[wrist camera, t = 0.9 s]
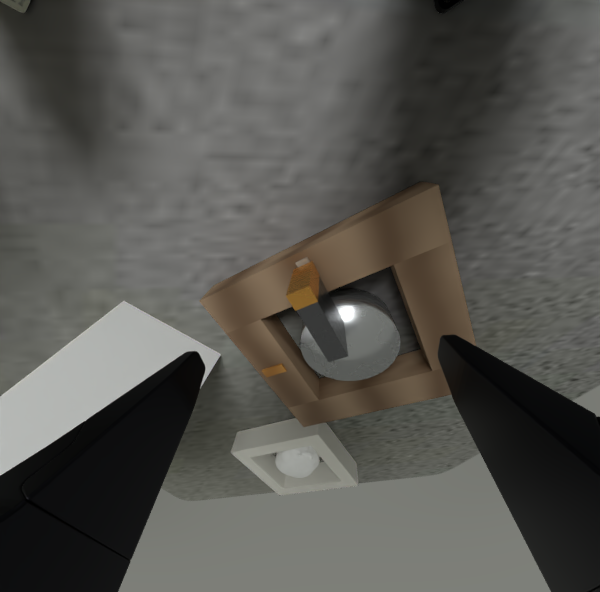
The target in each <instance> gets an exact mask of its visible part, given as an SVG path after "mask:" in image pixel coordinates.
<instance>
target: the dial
mask: <svg viewBox="0 0 600 592" xmlns="http://www.w3.org/2000/svg"><path fill="white" fill-rule="evenodd" d="M286 297H287V299H288V300H289V302H290V303H291V305H292V307H293V308H294V310H295V311H297V313H298V314H299V316H300V317H301V319H302V321H303V327H302V335H301V342H300V346H301V352H302V355H303V357H304V359H305V361H306V362H307V363H308V365H309V366H310V367H311V368H312V369H314V370H315V371H316V372H318V373H320V374H321V375H323V376H326V377H328V378H331V379H335V380H341V381H357V380H363V379H367V378H370V377H373V376H375V375H378V374H379V373H381V372H383V371H384V370H386V369H387V368H388V367H389V366H390V365H391V364H392V363H393V362H394V360H395V359H396V357H397V355H398V353H399V350H400V335H399V332H398V330H397V328H396V325H395V323H394V321H393V319H392V316H391V314H390V312H389V310H388V308H387V307H386V305H385V304H384V303H383V302H382V301H381V300H380V299H379V298H377V297H376V296H374V295H372V294H371V293H368V292H365V291H362V290H356V289H341V290H336V291H332V292H329V293H328V291H327V289H326V287H325V285H324V284H323V282H322V280H321V278H320V276H319V272H318V271H317V269H316V267H315V265H314V263H313V261H311V262H309V263H307V264H304V265H302V266H300V267H298V268H296V269H294V270H293V273H292V277H291V280H290V283H289V287H288V290H287V294H286Z"/></svg>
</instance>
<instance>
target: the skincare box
mask: <svg viewBox="0 0 600 592" xmlns="http://www.w3.org/2000/svg"><path fill="white" fill-rule="evenodd" d="M30 1H31V0H0V2H2V3H4V4H6V5H8V6H9V7H11V8H13V9H15V10H17V11H19V12H21V13H25V12H26V10H27V8H28V6H29V3H30Z"/></svg>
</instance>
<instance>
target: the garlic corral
mask: <svg viewBox="0 0 600 592" xmlns="http://www.w3.org/2000/svg"><path fill="white" fill-rule="evenodd" d="M307 446H312V447H313V449H314V450H315V451H316V452H317V453H318V454H319V456H320V457H321V458H322V459H323V460H324V462H319V465H318V467H317V468H316V469H315V470H314V471H313V472H312V473H311V474H310V475H309V476H307V477H304V478H295V477H291V476H288V475H286V474H284V473H282V472H280V471H279V470H278V468H277V466H276V463H275V458H276V457H275V456H274V455H273V454H272V453H276V452H281V451H286V450H291V449H297V448H302V447H307ZM231 454H233V455H234V456H235V457H236V458H237V459H238V460H240V461H241V462H242V463H243V464H244V465H245V466H246V467H248V468H249V469H250V470H251V471H252V472H253V473H254V474H256V475H257V476H258V477H259V478H260V479H261V480H262V481H264V482H265V483H266V484H267V485H268V486H269V487H270V488H272V489H273V490H274V491H275V492H276V493H277V494H278V495H287V494H296V493H304V492H312V491H320V490H328V489H336V488H344V487H353V486H359V481H358V472H357V463H356V462H355V460H354V459H353V458H352V456H351V455H350V454H349V452H348V451H347V450H346V448H345V447H344V446H343V444H342V443H341V442H340V440H339V439H338V438H337V436H336V435H335V434H334V432H333V431H332V430H331V428H330V427H329V426H328V424H327V423H326V422H325V423H321V424H316V425H312V426H307V427H303V426H302V425H301V423H300V422H299V421H298V420H297V419H296V418H293V419H289V420H284V421H280V422H276V423H272V424H268V425H264V426H259V427H255V428H251V429H247V430H243V431H238V432H237V434H236V437H235V440H234V444H233V447H232V450H231Z"/></svg>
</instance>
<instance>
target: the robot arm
mask: <svg viewBox="0 0 600 592" xmlns="http://www.w3.org/2000/svg"><path fill="white" fill-rule="evenodd" d="M462 1H463V0H450V1H449V2H447V3H446V2H444V0H434V3H435V8H436V10H437V12H439V13H442V14H443V13H446V12H447V11H449V10H450V9H452V8H453V7H455V6H456V5H458V4H459V3H460V2H462ZM438 360H439V363H440V365H441V368H442V371H443V373H444V376H445V378H446V381H447V384H448V386H449V389H450V392H451V394H452V397H453V399H454V402H455V404H456V406H457V408H458V410H459V412H460V414H461V416H462V418H463V420H464V422H465V424H466V426H467V428H468V430H469V432H470V434H471V436H472V438H473V440H474V442H475V444H476V446H477V448H478V449H479V451H480V453H481V455H482V457H483V459H484V461H485V463H486V465H487V467H488V469H489V471H490V473H491V475H492V477H493V479H494V481H495V483H496V485H497V487H498V489H499V491H500V492H501V495H502V496H503V498H504V500H505V502H506V504H507V506H508V508H509V510H510V512H511V514H512V516H513V518H514V520H515V522H516V524H517V526H518V527H519V529H520V531H521V534H522V536H523V537H524V540H525V541H526V543H527V545H528V547H529V549H530V551H531V553H532V555H533V557H534V559H535V561H536V563H537V565H538V567H539V569H540V571H541V573H542V574H543V577H544V579H545V581H546V583H547V584H548V586H549V588H550V590H551V592H600V417H596V415H595V414H594V413H592V412H591V411H589V410H587V409H585V408H584V407H582V406H580V405H578V404H577V403H575V402H573V401H571V400H570V399H568V398H566V397H564V396H563V395H561V394H559V393H557V392H556V391H554V390H552V389H550V388H549V387H547V386H545V385H543V384H542V383H540V382H538V381H536V380H534V379H533V378H531V377H529V376H527V375H526V374H524V373H522V372H520V371H519V370H517V369H515V368H513V367H512V366H510V365H508V364H506V363H505V362H503V361H501V360H499V359H498V358H496V357H494V356H492V355H491V354H489V353H487V352H485V351H484V350H482V349H480V348H478V347H477V346H475V345H473V344H471V343H470V342H468V341H466V340H464V339H463V338H461V337H459V336H457V335H455V334H451V335H442V336H441V337H440V341H439V348H438ZM204 374H205V364H204V362H203V360H202V358H201V356H200V354H199V353H198V352H197V351H188V352H185V353H184V354H182V355H181V356H179V357H178V358H176V359H175V360H173V361H172V362H170V363H169V364H167V365H166V366H165V367H163V368H162V369H160V370H159V371H157V372H156V373H154V374H153V375H151V376H150V377H148V378H147V379H145V380H144V381H142V382H141V383H140V384H138V385H137V386H135V387H134V388H132V389H131V390H129V391H128V392H126V393H125V394H123V395H122V396H120V397H119V398H118V399H116V400H115V401H113V402H112V403H110V404H109V405H107V406H106V407H104V408H103V409H101V410H100V411H98V412H97V413H95V414H94V415H93V416H91V417H90V418H88V419H87V420H86V421H84V422H82V423H81V424H79V425H78V426H76V427H75V428H73V429H72V430H70V431H69V432H67V433H66V434H64V435H63V436H61V437H60V438H58V439H57V440H55V441H54V442H52V443H51V444H49V445H48V446H46V447H45V448H43V449H42V450H40V451H38V452H37V453H35V454H34V455H32V456H31V457H29V458H27V459H26V460H24V461H23V462H21V463H19V464H18V465H16V466H15V467H13V468H11V469H10V470H8V471H7V472H5V473H3V474H2V475H0V592H118V591H119V588H120V586H121V583H122V581H123V578H124V576H125V574H126V571H127V569H128V566H129V564H130V560H131V558H132V556H133V554H134V551H135V549H136V547H137V544H138V542H139V539H140V537H141V535H142V532H143V530H144V527H145V525H146V522H147V520H148V518H149V515H150V513H151V510H152V508H153V506H154V503H155V501H156V498H157V496H158V493H159V491H160V489H161V486H162V484H163V481H164V479H165V477H166V474H167V472H168V469H169V467H170V465H171V462H172V460H173V457H174V455H175V453H176V450H177V448H178V445H179V443H180V440H181V438H182V436H183V433H184V431H185V428H186V426H187V424H188V421H189V419H190V416H191V414H192V411H193V409H194V406H195V403H196V400H197V396H198V393H199V390H200V387H201V383H202V380H203V377H204Z"/></svg>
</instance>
